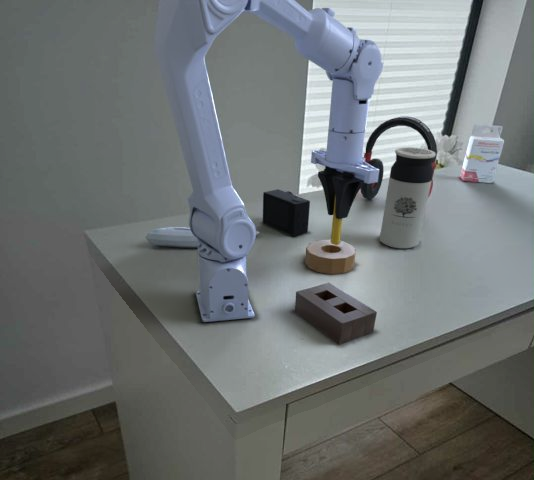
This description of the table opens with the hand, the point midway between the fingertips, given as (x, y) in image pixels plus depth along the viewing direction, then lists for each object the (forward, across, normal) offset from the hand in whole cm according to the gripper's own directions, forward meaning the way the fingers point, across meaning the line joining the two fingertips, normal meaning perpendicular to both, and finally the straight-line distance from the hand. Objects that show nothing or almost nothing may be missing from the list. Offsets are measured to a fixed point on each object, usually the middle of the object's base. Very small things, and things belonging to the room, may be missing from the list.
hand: (337, 215), depth 84 cm
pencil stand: (+10, -14, +11) cm, 21 cm away
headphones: (+11, +25, -39) cm, 48 cm away
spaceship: (+11, +25, +14) cm, 30 cm away
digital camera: (+11, +23, -6) cm, 26 cm away
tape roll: (+10, +3, -2) cm, 11 cm away
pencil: (+5, 0, 0) cm, 5 cm away
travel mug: (+11, +5, -22) cm, 25 cm away
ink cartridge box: (+11, +29, -78) cm, 84 cm away
